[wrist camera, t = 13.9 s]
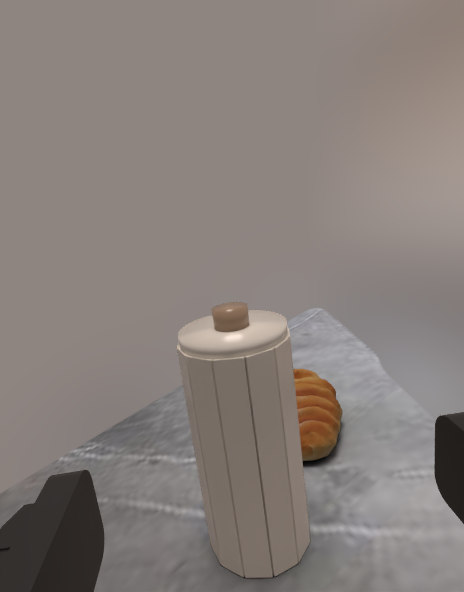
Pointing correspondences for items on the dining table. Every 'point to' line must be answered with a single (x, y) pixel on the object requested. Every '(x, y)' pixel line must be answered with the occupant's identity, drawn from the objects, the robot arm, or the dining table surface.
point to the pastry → (316, 414)
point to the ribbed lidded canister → (246, 437)
